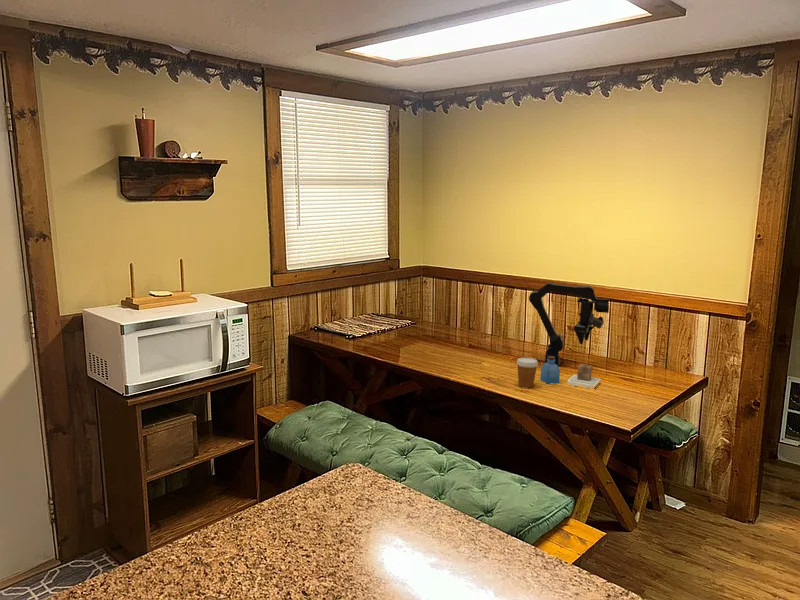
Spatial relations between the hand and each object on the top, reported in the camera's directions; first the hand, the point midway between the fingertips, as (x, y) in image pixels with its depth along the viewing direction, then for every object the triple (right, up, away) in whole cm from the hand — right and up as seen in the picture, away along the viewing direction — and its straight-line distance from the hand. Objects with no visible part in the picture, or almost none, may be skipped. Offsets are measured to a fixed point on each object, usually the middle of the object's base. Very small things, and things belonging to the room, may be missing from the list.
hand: (583, 342), depth 305 cm
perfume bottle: (-22, -17, -21) cm, 35 cm away
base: (-7, -17, -23) cm, 30 cm away
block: (-7, -15, -24) cm, 29 cm away
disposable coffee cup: (-34, -18, -28) cm, 48 cm away
